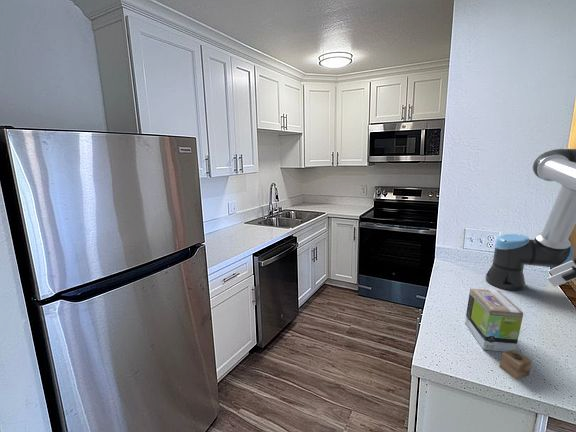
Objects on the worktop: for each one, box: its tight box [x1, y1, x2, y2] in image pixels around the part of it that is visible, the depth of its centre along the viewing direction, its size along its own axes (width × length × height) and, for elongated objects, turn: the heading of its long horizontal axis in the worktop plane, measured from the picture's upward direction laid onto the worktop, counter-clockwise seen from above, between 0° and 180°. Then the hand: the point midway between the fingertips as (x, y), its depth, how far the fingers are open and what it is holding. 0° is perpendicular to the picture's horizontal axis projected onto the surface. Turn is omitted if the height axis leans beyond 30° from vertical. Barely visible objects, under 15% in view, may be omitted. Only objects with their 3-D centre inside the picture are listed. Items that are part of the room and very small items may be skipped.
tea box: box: [464, 288, 524, 353], centre depth 100 cm, size 15×10×15 cm
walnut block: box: [499, 349, 533, 380], centre depth 87 cm, size 5×5×5 cm
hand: (551, 278), depth 87 cm, fingers open, 6 cm apart
